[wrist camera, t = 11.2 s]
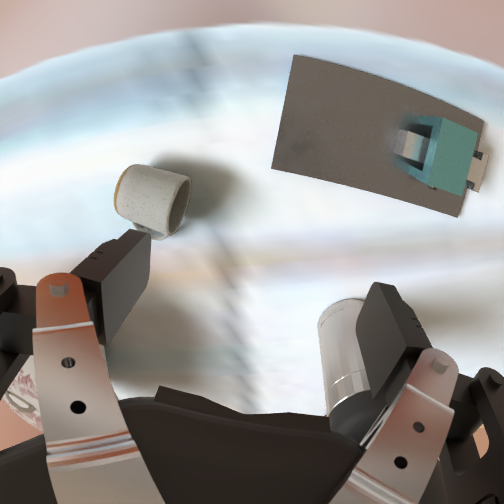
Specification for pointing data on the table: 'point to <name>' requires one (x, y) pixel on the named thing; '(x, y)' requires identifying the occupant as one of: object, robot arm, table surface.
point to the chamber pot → (30, 393)
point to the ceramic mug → (152, 199)
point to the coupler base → (365, 133)
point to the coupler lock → (446, 155)
